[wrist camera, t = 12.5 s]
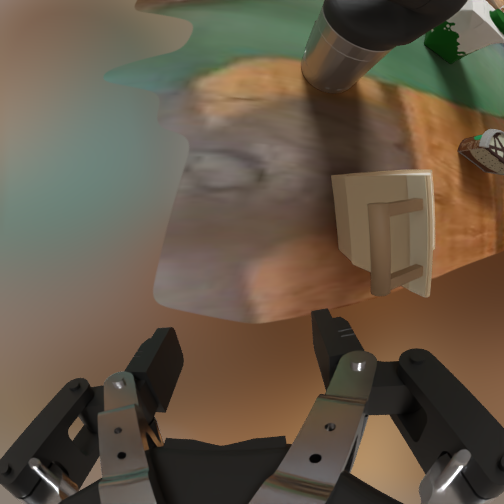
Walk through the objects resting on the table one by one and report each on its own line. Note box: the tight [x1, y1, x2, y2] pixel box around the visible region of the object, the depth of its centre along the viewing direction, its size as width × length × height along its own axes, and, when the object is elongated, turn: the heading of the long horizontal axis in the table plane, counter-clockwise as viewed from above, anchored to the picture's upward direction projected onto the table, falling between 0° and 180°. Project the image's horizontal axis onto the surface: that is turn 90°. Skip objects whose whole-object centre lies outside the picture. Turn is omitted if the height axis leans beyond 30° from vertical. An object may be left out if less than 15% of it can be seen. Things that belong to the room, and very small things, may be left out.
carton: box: [331, 170, 435, 261], centre depth 38 cm, size 12×14×8 cm
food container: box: [458, 129, 504, 175], centre depth 33 cm, size 12×6×10 cm, turn 73°
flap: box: [344, 175, 433, 297], centre depth 27 cm, size 12×14×7 cm
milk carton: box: [424, 0, 504, 64], centre depth 22 cm, size 9×9×20 cm
